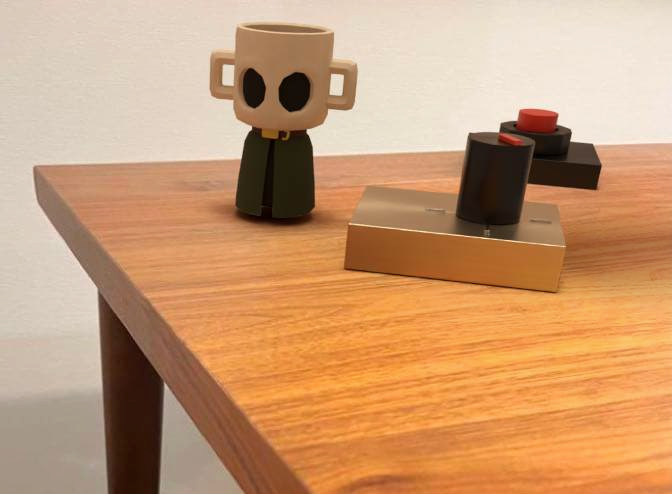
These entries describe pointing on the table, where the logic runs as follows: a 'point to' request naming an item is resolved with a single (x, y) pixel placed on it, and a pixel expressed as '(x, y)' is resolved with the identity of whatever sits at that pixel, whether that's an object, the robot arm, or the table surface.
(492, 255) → the panel
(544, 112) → the button
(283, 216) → the character mug
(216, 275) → the table surface
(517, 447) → the table surface
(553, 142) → the button box
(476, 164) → the knob
